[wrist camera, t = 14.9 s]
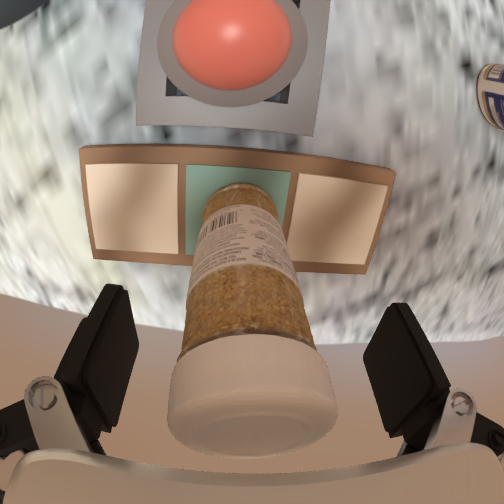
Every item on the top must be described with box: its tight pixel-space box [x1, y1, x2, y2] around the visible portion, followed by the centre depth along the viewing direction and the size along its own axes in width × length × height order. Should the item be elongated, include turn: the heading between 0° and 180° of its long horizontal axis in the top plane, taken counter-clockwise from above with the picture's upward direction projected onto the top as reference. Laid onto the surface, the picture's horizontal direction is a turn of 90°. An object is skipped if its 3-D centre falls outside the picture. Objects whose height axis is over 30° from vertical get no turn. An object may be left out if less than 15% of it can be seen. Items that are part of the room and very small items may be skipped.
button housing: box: [136, 0, 330, 137], centre depth 12 cm, size 9×9×3 cm
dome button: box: [157, 0, 308, 107], centre depth 11 cm, size 7×7×6 cm
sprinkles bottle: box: [167, 183, 338, 459], centre depth 12 cm, size 5×5×13 cm
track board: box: [79, 144, 396, 274], centre depth 18 cm, size 20×8×1 cm, turn 84°
